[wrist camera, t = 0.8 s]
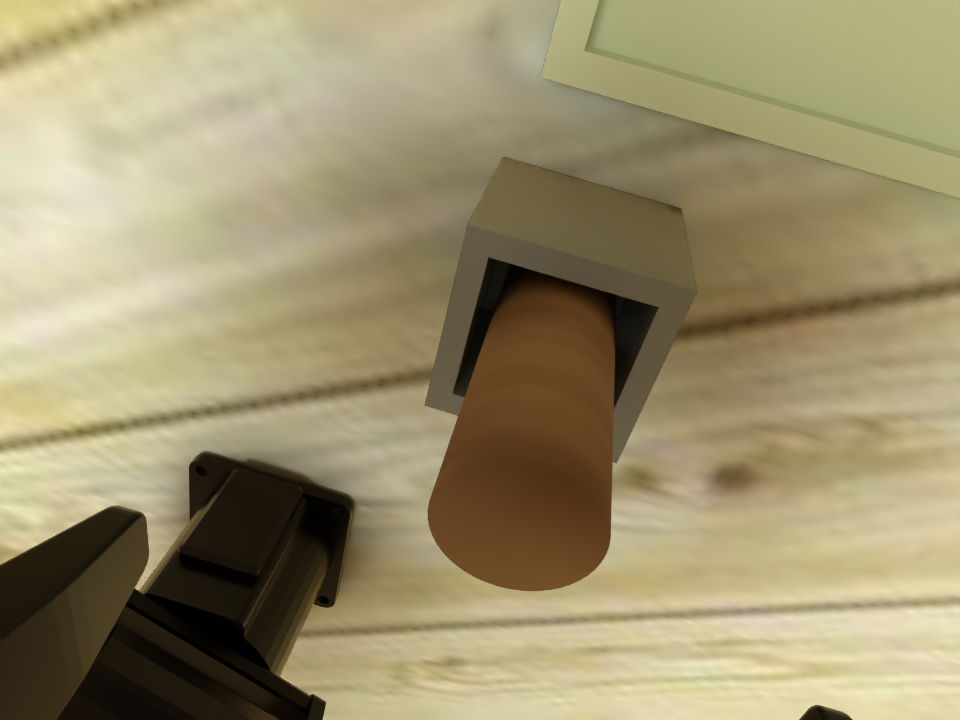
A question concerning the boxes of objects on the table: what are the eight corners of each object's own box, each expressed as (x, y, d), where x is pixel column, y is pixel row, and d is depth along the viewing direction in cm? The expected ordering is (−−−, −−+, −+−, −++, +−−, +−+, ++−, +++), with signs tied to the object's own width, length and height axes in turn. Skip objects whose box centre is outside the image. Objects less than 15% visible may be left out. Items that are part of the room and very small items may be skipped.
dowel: (597, 329, 20) (577, 610, 12) (499, 301, 20) (413, 560, 12) (632, 238, 19) (637, 491, 10) (526, 207, 19) (447, 433, 10)
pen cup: (618, 357, 21) (616, 463, 17) (463, 312, 21) (424, 405, 17) (681, 208, 19) (697, 291, 14) (502, 157, 19) (467, 224, 14)
